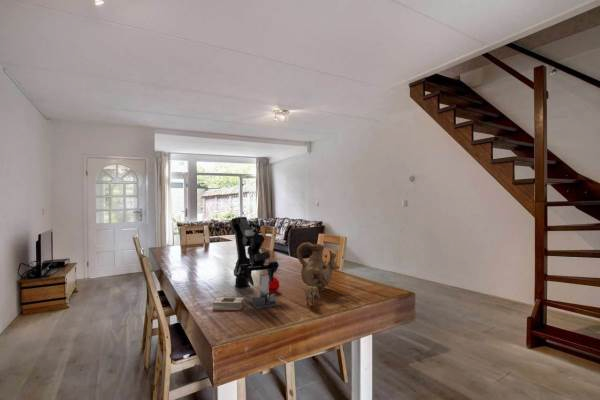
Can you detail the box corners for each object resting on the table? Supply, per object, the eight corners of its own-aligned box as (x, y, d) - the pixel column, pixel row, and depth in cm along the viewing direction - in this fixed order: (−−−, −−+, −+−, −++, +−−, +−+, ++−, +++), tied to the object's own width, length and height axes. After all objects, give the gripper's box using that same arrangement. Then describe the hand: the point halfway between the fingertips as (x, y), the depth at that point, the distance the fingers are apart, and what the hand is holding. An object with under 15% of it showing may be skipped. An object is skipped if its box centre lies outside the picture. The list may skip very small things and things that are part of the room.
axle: (261, 300, 140) (262, 274, 140) (269, 301, 139) (270, 274, 139) (258, 302, 136) (258, 275, 137) (266, 303, 135) (267, 276, 135)
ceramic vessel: (317, 297, 148) (317, 245, 148) (290, 289, 161) (290, 242, 162) (340, 289, 161) (340, 242, 162) (313, 283, 174) (313, 239, 175)
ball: (264, 294, 152) (264, 279, 153) (261, 290, 160) (261, 275, 160) (280, 293, 155) (280, 278, 155) (276, 289, 162) (276, 274, 163)
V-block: (248, 302, 140) (248, 293, 140) (270, 299, 145) (270, 290, 145) (255, 309, 131) (255, 299, 131) (279, 305, 136) (279, 296, 136)
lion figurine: (315, 308, 132) (315, 287, 132) (303, 307, 133) (303, 287, 133) (320, 298, 146) (320, 279, 146) (309, 297, 147) (309, 279, 147)
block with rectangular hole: (217, 304, 138) (217, 297, 138) (243, 303, 138) (243, 297, 138) (212, 309, 131) (212, 302, 131) (240, 309, 131) (240, 302, 131)
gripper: (239, 247, 140) (246, 276, 130) (277, 244, 148) (286, 272, 138) (235, 261, 147) (241, 290, 137) (271, 258, 155) (279, 285, 145)
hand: (262, 284), depth 139 cm, fingers open, 9 cm apart
